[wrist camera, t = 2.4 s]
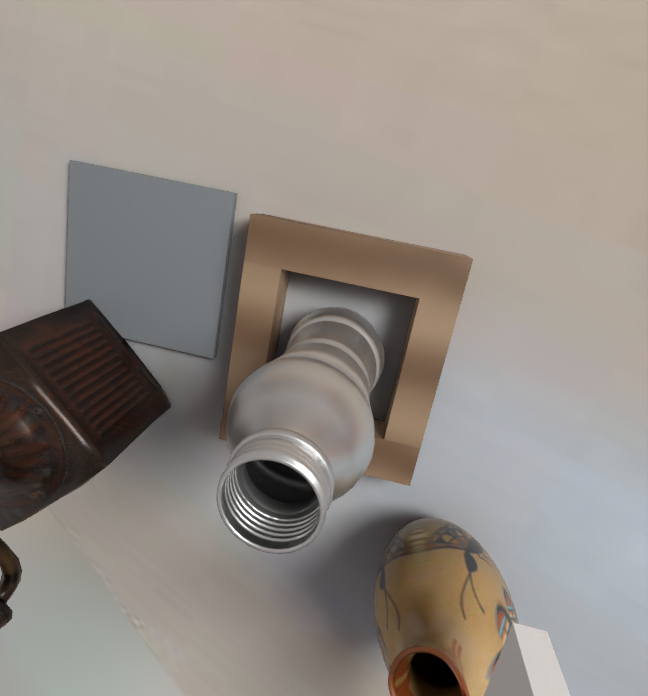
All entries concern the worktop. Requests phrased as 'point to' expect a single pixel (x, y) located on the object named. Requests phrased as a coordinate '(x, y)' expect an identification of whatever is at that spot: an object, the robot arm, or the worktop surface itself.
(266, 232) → the brown rectangular frame
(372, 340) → the plastic bottle
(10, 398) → the coffee grinder
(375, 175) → the worktop surface
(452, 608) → the ceramic vessel
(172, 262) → the rubber mat
